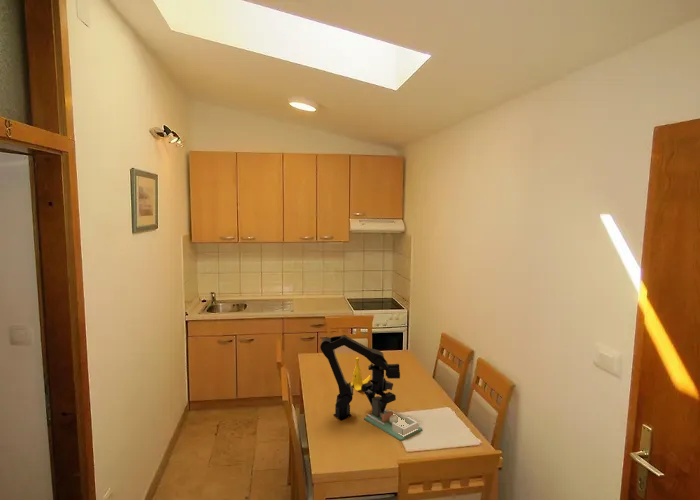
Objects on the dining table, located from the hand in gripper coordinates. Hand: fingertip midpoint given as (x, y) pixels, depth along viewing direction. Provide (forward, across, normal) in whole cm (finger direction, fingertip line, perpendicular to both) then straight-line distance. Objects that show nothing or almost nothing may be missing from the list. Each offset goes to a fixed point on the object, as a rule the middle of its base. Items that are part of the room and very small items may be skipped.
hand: (377, 409), depth 200 cm
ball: (+1, -11, 0) cm, 11 cm away
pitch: (+4, -10, 0) cm, 11 cm away
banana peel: (+4, +33, -17) cm, 37 cm away
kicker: (+3, -3, 0) cm, 4 cm away
